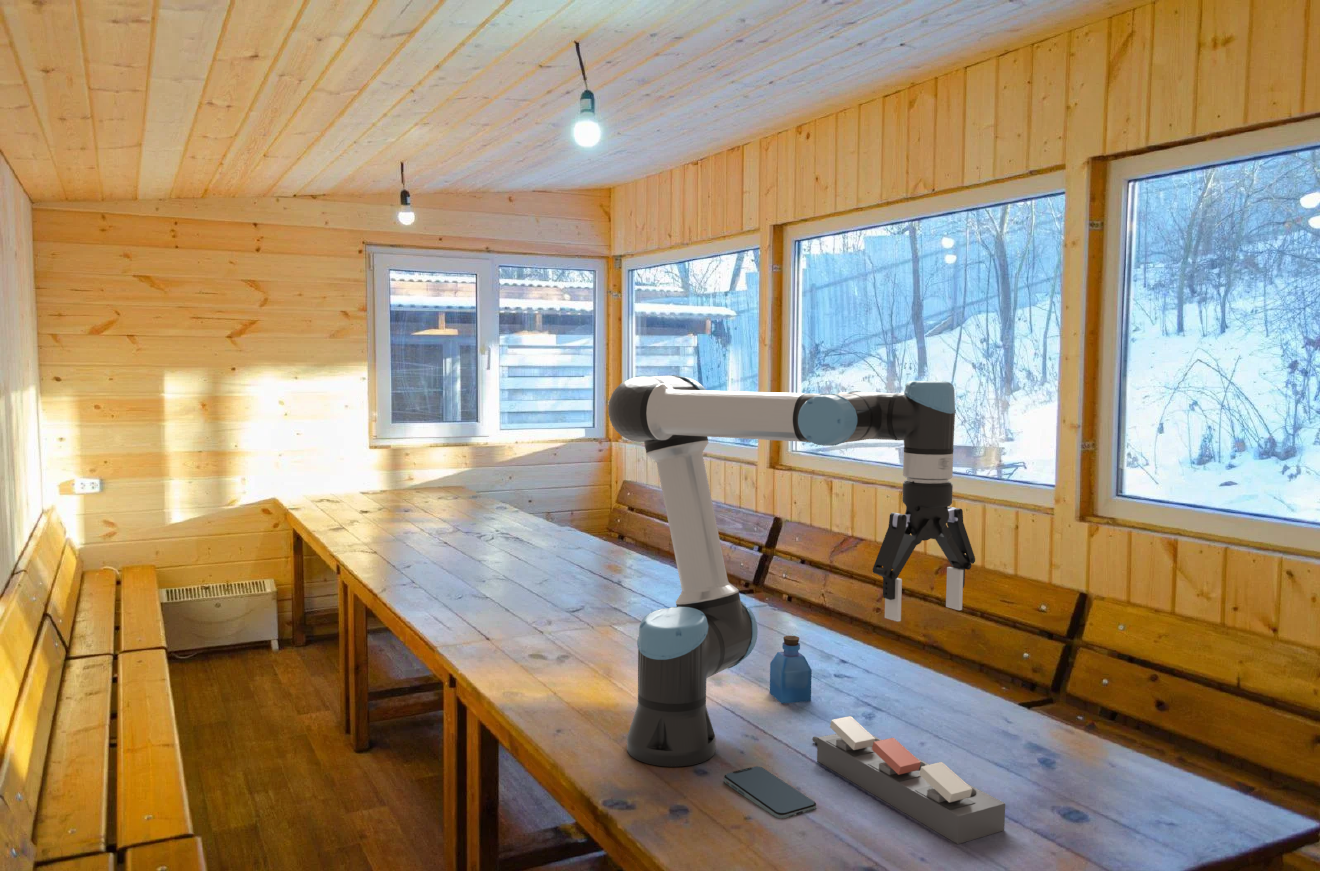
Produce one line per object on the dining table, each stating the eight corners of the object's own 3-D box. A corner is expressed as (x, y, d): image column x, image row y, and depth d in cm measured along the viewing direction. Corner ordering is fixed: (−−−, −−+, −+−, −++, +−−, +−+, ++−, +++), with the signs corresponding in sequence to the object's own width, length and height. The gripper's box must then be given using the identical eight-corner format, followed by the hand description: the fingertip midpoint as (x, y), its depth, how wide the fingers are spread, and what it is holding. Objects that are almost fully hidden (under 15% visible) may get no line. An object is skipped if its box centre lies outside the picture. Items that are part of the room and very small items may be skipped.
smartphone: (779, 814, 145) (721, 773, 158) (778, 825, 146) (720, 784, 158) (819, 803, 149) (759, 764, 162) (819, 813, 149) (759, 773, 162)
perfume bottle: (781, 703, 194) (782, 643, 193) (769, 693, 200) (770, 634, 199) (810, 701, 196) (812, 640, 195) (798, 690, 202) (799, 632, 201)
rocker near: (970, 796, 143) (972, 788, 142) (949, 802, 141) (951, 794, 140) (939, 769, 148) (941, 761, 148) (919, 774, 146) (921, 766, 146)
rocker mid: (918, 769, 152) (920, 761, 151) (898, 774, 150) (900, 766, 150) (891, 745, 157) (893, 737, 157) (871, 749, 155) (873, 741, 155)
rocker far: (873, 745, 161) (875, 738, 161) (853, 750, 159) (855, 742, 159) (849, 723, 166) (850, 715, 166) (829, 727, 165) (831, 719, 164)
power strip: (1004, 830, 143) (1005, 796, 142) (957, 844, 139) (958, 809, 138) (833, 737, 177) (834, 709, 177) (792, 746, 173) (792, 718, 172)
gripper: (886, 487, 146) (883, 630, 148) (1000, 477, 159) (996, 608, 161) (851, 481, 153) (848, 618, 154) (963, 473, 166) (960, 599, 167)
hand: (924, 614), depth 158 cm, fingers open, 13 cm apart
